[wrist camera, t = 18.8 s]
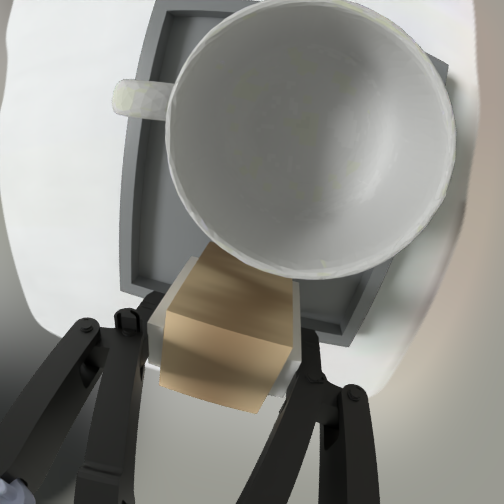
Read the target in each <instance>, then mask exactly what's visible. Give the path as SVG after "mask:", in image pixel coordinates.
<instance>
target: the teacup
mask: <svg viewBox="0 0 504 504" xmlns="http://www.w3.org/2000/svg"><path fill="white" fill-rule="evenodd" d="M112 108H113V111H114V112H115V113H116V114H118V115H122V116H128V117H134V118H142V119H152V120H162V121H166V124H165V130H166V131H165V142H166V150H167V158H168V164H169V169H170V174H171V178H172V180H173V183H174V185H175V188H176V190H177V193H178V195H179V197H180V199H181V201H182V203H183V204H184V206H185V208H186V210H187V211H188V213H189V215H190V216H191V217H192V219H193V220H194V221H195V223H196V224H197V225H198V226H199V227H200V228H201V230H202V231H203V232H204V233H205V234H206V235H207V236H208V237H209V238H210V239H211V240H212V241H214V242H215V243H216V244H217V245H218V246H219V247H221V248H222V249H224V250H225V251H227V252H228V253H230V254H231V255H233V256H234V257H236V258H237V259H239V260H241V261H242V262H244V263H245V264H247V265H250V266H252V267H254V268H257V269H259V270H262V271H265V272H268V273H271V274H274V275H278V276H282V277H286V278H294V279H306V280H324V279H332V278H340V277H345V276H349V275H353V274H357V273H360V272H363V271H366V270H368V269H371V268H373V267H375V266H377V265H379V264H381V263H383V262H385V261H387V260H389V259H390V258H392V257H393V256H394V255H396V254H397V253H398V252H400V251H401V250H402V249H404V248H405V247H406V246H408V245H409V244H410V243H411V242H412V241H413V240H414V239H415V238H416V237H417V236H418V235H419V234H420V233H421V232H422V231H423V229H424V228H425V227H426V226H427V225H428V224H429V222H430V221H431V219H432V218H433V216H434V214H435V213H436V211H437V210H438V208H439V207H440V205H441V204H442V202H443V200H444V198H445V197H446V191H447V189H448V186H449V183H450V181H451V177H452V173H453V169H454V164H455V159H456V137H457V132H456V124H455V118H454V114H453V109H452V104H451V101H450V99H449V95H448V92H447V90H446V88H445V86H444V83H443V81H442V78H441V77H440V75H439V73H438V71H437V70H436V68H435V66H434V65H433V63H432V61H431V60H430V59H429V57H428V56H427V54H426V53H425V52H424V51H423V50H422V49H421V47H420V46H419V45H418V44H417V43H416V42H415V41H414V40H413V39H412V38H411V37H410V36H409V35H408V34H407V33H406V32H405V31H404V30H403V29H402V28H400V27H399V26H397V25H396V24H395V23H393V22H392V21H390V20H389V19H387V18H385V17H383V16H382V15H380V14H378V13H377V12H375V11H373V10H371V9H369V8H367V7H365V6H363V5H360V4H358V3H353V2H349V1H347V0H265V1H262V2H259V3H256V4H253V5H250V6H247V7H245V8H243V9H241V10H239V11H237V12H235V13H234V14H232V15H230V16H228V17H227V18H225V19H224V20H223V21H222V22H221V23H219V24H218V25H216V26H215V27H214V28H212V29H211V30H210V31H209V32H208V33H207V34H206V35H205V36H204V37H203V39H202V40H201V41H200V42H199V43H198V44H197V46H196V47H195V48H194V50H193V51H192V53H191V54H190V56H189V57H188V59H187V60H186V62H185V64H184V65H183V67H182V69H181V71H180V73H179V76H178V78H177V80H176V82H175V84H172V83H164V82H155V81H144V80H135V79H123V80H121V81H120V82H118V84H117V85H116V87H115V89H114V91H113V97H112Z"/></svg>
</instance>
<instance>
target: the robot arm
mask: <svg viewBox="0 0 504 504" xmlns="http://www.w3.org/2000/svg"><path fill="white" fill-rule="evenodd" d="M198 259H199V258H197V257H193V256H191V257H190V259H189V260H188V262H187V263H186V264H185V266H184V267H183V269H182V270H181V272H180V273H179V275H178V276H177V278H176V279H175V281H174V282H173V284H172V285H171V287H170V288H169V290H168V291H167V293H166V294H164V293H161V292H157V291H153V292H151V293H149V294H147V295H146V297H145V298H144V299H143V301H142V302H141V303H140V305H139V306H138V308H137V309H132V308H124V309H120V310H119V311H117V312H116V313H115V315H114V319H115V328H104V327H100V326H99V323H98V322H97V321H96V320H95V319H93V318H82V319H79V320H78V321H77V322H75V324H74V325H73V326H72V327H71V328H70V330H69V331H68V332H67V333H66V334H65V336H64V337H63V338H62V339H61V341H60V342H59V343H58V344H57V346H56V347H55V348H54V349H53V351H52V352H51V353H50V355H49V356H48V357H47V358H46V360H45V361H44V362H43V364H42V365H41V366H40V367H39V369H38V370H37V371H36V373H35V374H34V375H33V377H32V378H31V380H30V381H29V382H28V384H27V385H26V386H25V388H24V389H23V391H22V392H21V394H20V395H19V397H18V398H17V399H16V401H15V402H14V404H13V405H12V407H11V408H10V410H9V411H8V413H7V414H6V416H5V417H4V419H3V421H2V422H1V424H0V504H36V503H35V499H34V496H33V494H34V493H35V492H36V491H37V490H38V488H39V487H40V486H41V484H42V483H43V481H44V479H45V477H46V475H47V473H48V471H49V469H50V467H51V465H52V463H53V461H54V459H55V457H56V455H57V453H58V451H59V449H60V447H61V445H62V443H63V442H64V440H65V438H66V436H67V434H68V432H69V430H70V428H71V426H72V425H73V423H74V421H75V419H76V417H77V416H78V414H79V412H80V410H81V408H82V407H83V405H84V403H85V401H86V400H87V398H88V396H89V394H90V392H91V391H92V389H93V388H94V385H95V384H96V382H97V381H98V379H99V377H100V376H101V374H102V372H103V374H102V378H101V382H100V386H99V390H98V395H97V399H96V403H95V408H94V412H93V417H92V422H91V427H90V432H89V437H88V443H87V449H86V455H85V461H84V464H83V466H81V467H80V468H79V470H78V474H77V480H76V487H75V496H74V504H135V497H134V470H135V454H136V441H137V430H138V420H139V411H140V402H141V394H142V387H143V379H144V372H145V362H146V360H147V358H148V361H149V364H152V365H155V366H158V367H161V356H162V346H163V336H164V327H165V318H166V310H167V309H168V307H169V305H170V304H171V302H172V300H173V299H174V297H175V295H176V294H177V292H178V291H179V289H180V287H181V286H182V284H183V283H184V281H185V279H186V278H187V276H188V275H189V273H190V271H191V270H192V268H193V267H194V265H195V264H196V262H197V260H198ZM292 286H293V349H292V350H291V352H290V354H289V356H288V358H287V360H286V362H285V364H284V366H283V368H282V370H281V371H280V373H279V375H278V377H277V379H276V381H275V383H274V384H273V386H272V388H271V390H270V392H269V393H268V395H271V396H277V397H282V398H283V397H284V395H285V393H286V400H285V402H284V404H283V406H282V407H281V409H280V411H279V415H278V418H277V420H276V422H275V424H274V427H273V429H272V431H271V433H270V436H269V438H268V440H267V442H266V444H265V446H264V449H263V451H262V453H261V455H260V457H259V459H258V461H257V463H256V465H255V467H254V469H253V471H252V474H251V476H250V477H249V480H248V481H247V483H246V485H245V487H244V489H243V491H242V493H241V495H240V497H239V499H238V500H237V502H236V504H287V502H288V499H289V497H290V494H291V492H292V489H293V487H294V484H295V481H296V479H297V476H298V473H299V471H300V468H301V465H302V462H303V459H304V456H305V453H306V450H307V448H308V445H309V442H310V439H311V435H312V432H313V429H314V426H315V422H318V423H320V467H319V499H318V500H319V501H318V504H380V497H379V483H378V472H377V462H376V453H375V445H374V436H373V429H372V422H371V416H370V409H369V403H368V396H367V394H366V392H365V391H364V389H363V388H361V387H360V386H358V385H355V384H348V385H346V386H344V388H341V387H338V386H336V385H334V384H332V383H330V382H329V381H327V378H326V376H325V374H324V373H323V372H322V370H321V358H320V347H319V337H318V335H317V333H316V332H315V330H312V329H308V328H303V327H301V320H300V293H299V282H295V281H292Z"/></svg>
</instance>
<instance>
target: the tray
mask: <svg viewBox="0 0 504 504" xmlns="http://www.w3.org/2000/svg"><path fill="white" fill-rule="evenodd" d="M259 2H260V1H252V0H156V1H155V5H154V8H153V11H152V14H151V17H150V21H149V24H148V28H147V31H146V35H145V39H144V43H143V47H142V51H141V55H140V59H139V63H138V68H137V73H136V77H135V80H144V81H155V82H164V83H172V84H175V82H176V80H177V78H178V76H179V73H180V71H181V69H182V67H183V65H184V64H185V62H186V60H187V59H188V57H189V56H190V54H191V53H192V51H193V50H194V48H195V47H196V46H197V44H198V43H199V42H200V41H201V40H202V39H203V37H204V36H205V35H206V34H207V33H208V32H209V31H210V30H211V29H212V28H214V27H215V26H216V25H218V24H219V23H221V22H222V21H223V20H224V19H225V18H227V17H228V16H230V15H232V14H234V13H235V12H237V11H239V10H241V9H243V8H245V7H247V6H250V5H253V4H256V3H259ZM425 53H426V52H425ZM426 54H427V56H428V57H429V59H430V60H431V61H432V63H433V65H434V66H435V68H436V70H437V71H438V73H439V75H440V77H441V78H442V81H443V83H444V86H445V85H446V79H447V72H448V64H446V63H445V62H443V61H441V60H439V59H437V58H435V57H433V56H432V55H430V54H428V53H426ZM165 124H166V121H162V120H152V119H142V118H134V117H128V124H127V131H126V139H125V148H124V157H123V168H122V181H121V196H120V222H119V267H120V291H123V292H126V293H129V294H132V295H135V296H138V297H141V298H145V297H146V295H147V294H149V293H151V292H153V291H157V292H161V293H164V294H166V293H167V291H168V290H169V288H170V287H171V285H172V284H173V282H174V281H175V279H176V278H177V276H178V275H179V273H180V272H181V270H182V269H183V267H184V266H185V264H186V263H187V262H188V260H189V259H190V257H191V256H193V257H197V258H199V257H200V256H201V254H202V253H203V251H204V249H205V248H206V246H207V245H208V243H209V242H210V241H211V242H214V241H212V240H211V239H210V238H209V237H208V236H207V235H206V234H205V233H204V232H203V231H202V230H201V228H200V227H199V226H198V225H197V224H196V223H195V221H194V220H193V219H192V217H191V216H190V215H189V213H188V211H187V210H186V208H185V206H184V204H183V203H182V201H181V199H180V197H179V195H178V193H177V190H176V188H175V185H174V183H173V180H172V178H171V174H170V169H169V164H168V158H167V150H166V142H165V131H166V130H165ZM393 257H394V256H393ZM393 257H392V258H390V259H389V260H387V261H385V262H383V263H381V264H379V265H377V266H375V267H373V268H371V269H368V270H366V271H363V272H360V273H357V274H353V275H349V276H345V277H340V278H332V279H324V280H306V279H294V278H292V281H295V282H299V293H300V320H301V327H303V328H308V329H312V330H315V332H316V333H317V335H318V337H319V342H321V343H327V344H332V345H338V346H344V347H349V346H350V344H351V343H352V341H353V339H354V337H355V335H356V333H357V332H358V330H359V328H360V326H361V324H362V322H363V320H364V318H365V316H366V315H367V313H368V311H369V309H370V307H371V305H372V303H373V301H374V299H375V296H376V294H377V292H378V290H379V288H380V286H381V284H382V282H383V280H384V277H385V275H386V273H387V271H388V268H389V266H390V264H391V262H392V259H393Z"/></svg>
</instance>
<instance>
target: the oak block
mask: <svg viewBox="0 0 504 504" xmlns="http://www.w3.org/2000/svg"><path fill="white" fill-rule="evenodd" d="M292 349H293V286H292V278H286V277H282V276H278V275H274V274H271V273H268V272H265V271H262V270H259V269H257V268H254V267H252V266H250V265H247V264H245V263H244V262H242V261H241V260H239V259H237V258H236V257H234V256H233V255H231V254H230V253H228V252H227V251H225V250H224V249H222V248H221V247H219V246H218V245H217V244H216V243H215V242H211V241H210V242H209V243H208V245H207V246H206V248H205V249H204V251H203V253H202V254H201V256H200V257H199V259H198V260H197V262H196V264H195V265H194V267H193V268H192V270H191V271H190V273H189V275H188V276H187V278H186V279H185V281H184V283H183V284H182V286H181V287H180V289H179V291H178V292H177V294H176V295H175V297H174V299H173V300H172V302H171V304H170V305H169V307H168V309H167V310H166V318H165V327H164V336H163V346H162V356H161V367H160V381H159V385H160V386H162V387H165V388H168V389H171V390H174V391H177V392H180V393H182V394H186V395H189V396H192V397H195V398H198V399H201V400H205V401H208V402H212V403H215V404H219V405H222V406H226V407H230V408H234V409H238V410H242V411H246V412H250V413H254V414H257V413H258V411H259V409H260V407H261V406H262V404H263V402H264V400H265V399H266V397H267V395H268V393H269V392H270V390H271V388H272V386H273V384H274V383H275V381H276V379H277V377H278V375H279V373H280V371H281V370H282V368H283V366H284V364H285V362H286V360H287V358H288V356H289V354H290V352H291V350H292Z"/></svg>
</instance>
